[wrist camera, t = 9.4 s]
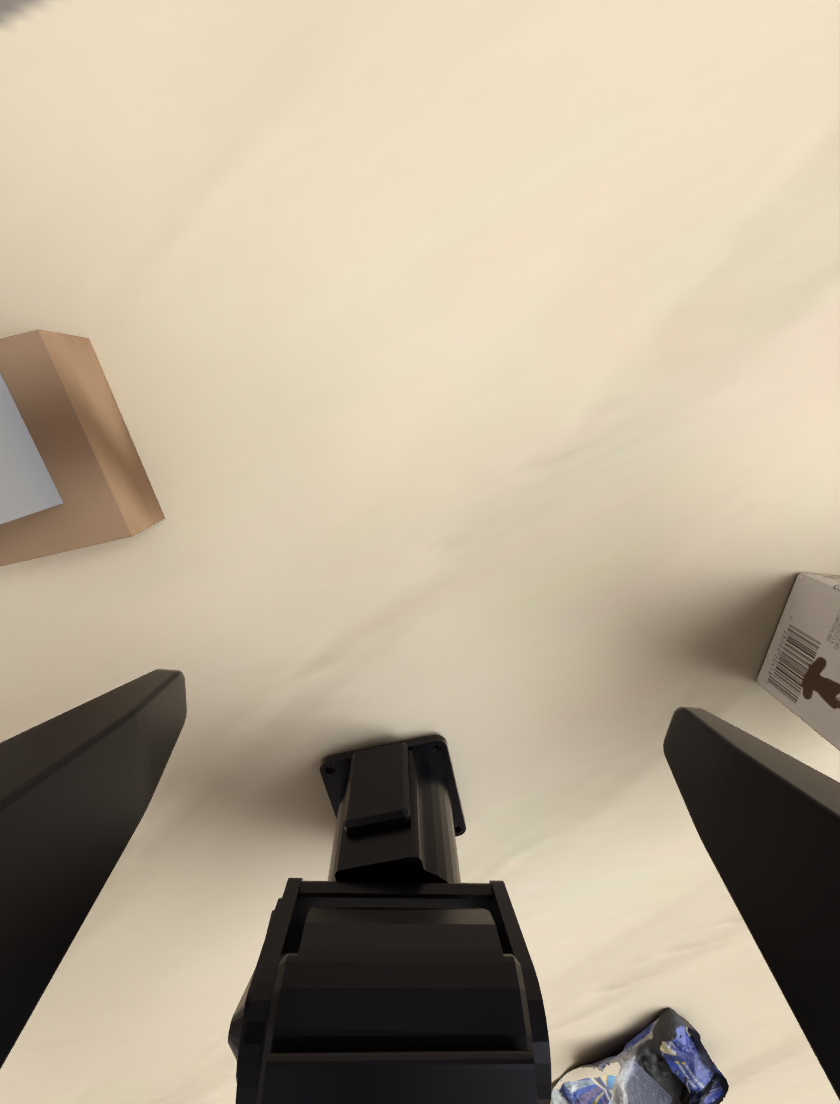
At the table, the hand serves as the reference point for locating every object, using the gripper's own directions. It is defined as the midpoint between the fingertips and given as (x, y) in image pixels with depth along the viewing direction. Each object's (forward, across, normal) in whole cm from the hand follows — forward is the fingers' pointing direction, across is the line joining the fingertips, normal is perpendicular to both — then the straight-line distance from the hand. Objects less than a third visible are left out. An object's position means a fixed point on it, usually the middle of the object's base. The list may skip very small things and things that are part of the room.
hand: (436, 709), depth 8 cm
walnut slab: (+13, +15, -2) cm, 20 cm away
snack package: (+13, -20, +39) cm, 45 cm away
